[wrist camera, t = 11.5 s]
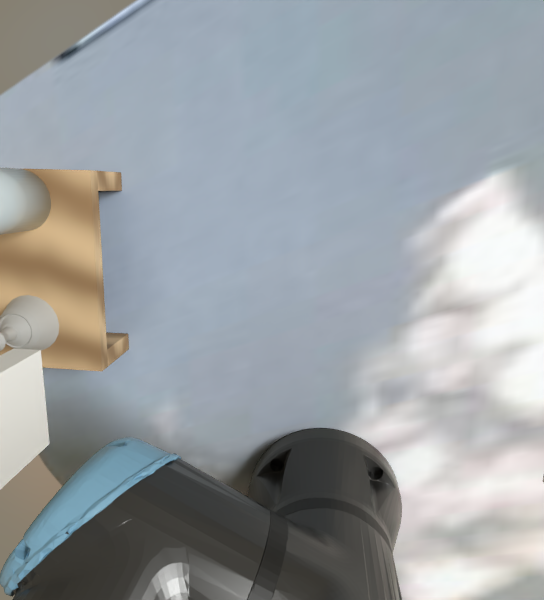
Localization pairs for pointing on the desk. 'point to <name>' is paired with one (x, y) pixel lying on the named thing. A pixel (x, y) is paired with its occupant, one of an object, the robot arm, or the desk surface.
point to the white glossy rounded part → (22, 201)
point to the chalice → (28, 324)
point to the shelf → (66, 270)
